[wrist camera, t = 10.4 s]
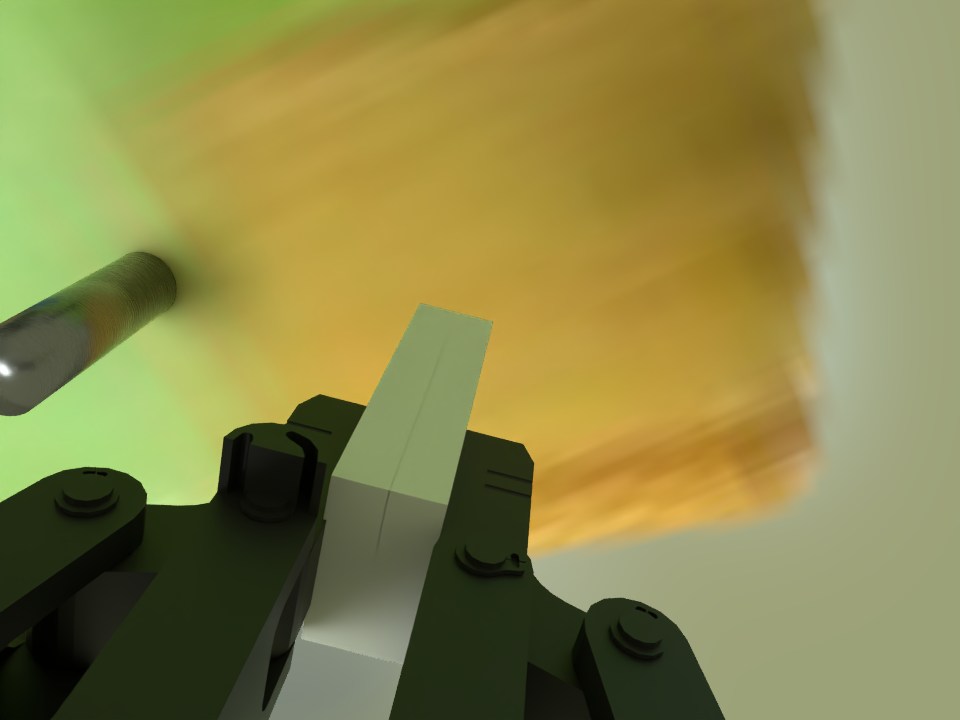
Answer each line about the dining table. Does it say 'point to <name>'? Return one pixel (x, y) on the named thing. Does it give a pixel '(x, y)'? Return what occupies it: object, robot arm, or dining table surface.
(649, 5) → the dining table surface
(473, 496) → the robot arm
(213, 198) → the dining table surface
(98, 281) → the post
